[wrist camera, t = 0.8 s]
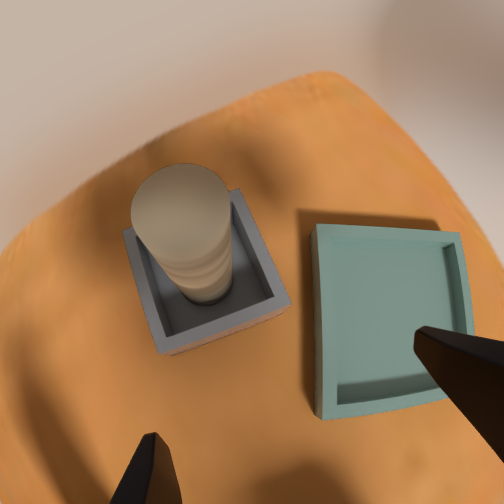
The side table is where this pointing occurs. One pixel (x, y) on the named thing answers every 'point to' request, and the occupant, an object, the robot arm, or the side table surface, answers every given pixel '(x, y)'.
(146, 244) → the rounded wooden peg
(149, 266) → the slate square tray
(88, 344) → the side table surface
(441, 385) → the robot arm
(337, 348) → the green-grey tray
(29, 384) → the side table surface
